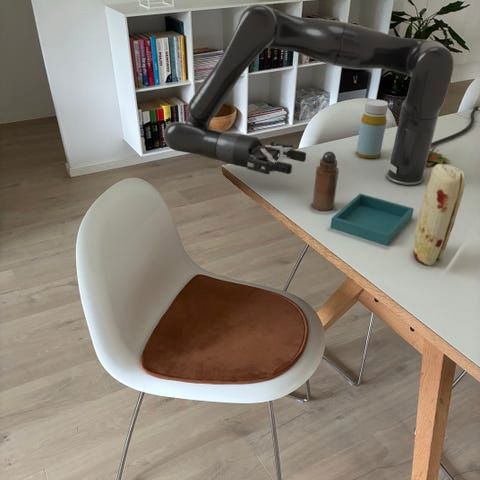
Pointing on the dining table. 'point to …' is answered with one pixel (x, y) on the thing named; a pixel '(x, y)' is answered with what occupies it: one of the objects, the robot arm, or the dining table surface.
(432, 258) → the food model
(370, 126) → the bottle
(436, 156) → the lily flower
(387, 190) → the dining table surface
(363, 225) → the tray
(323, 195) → the pepper mill
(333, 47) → the robot arm
